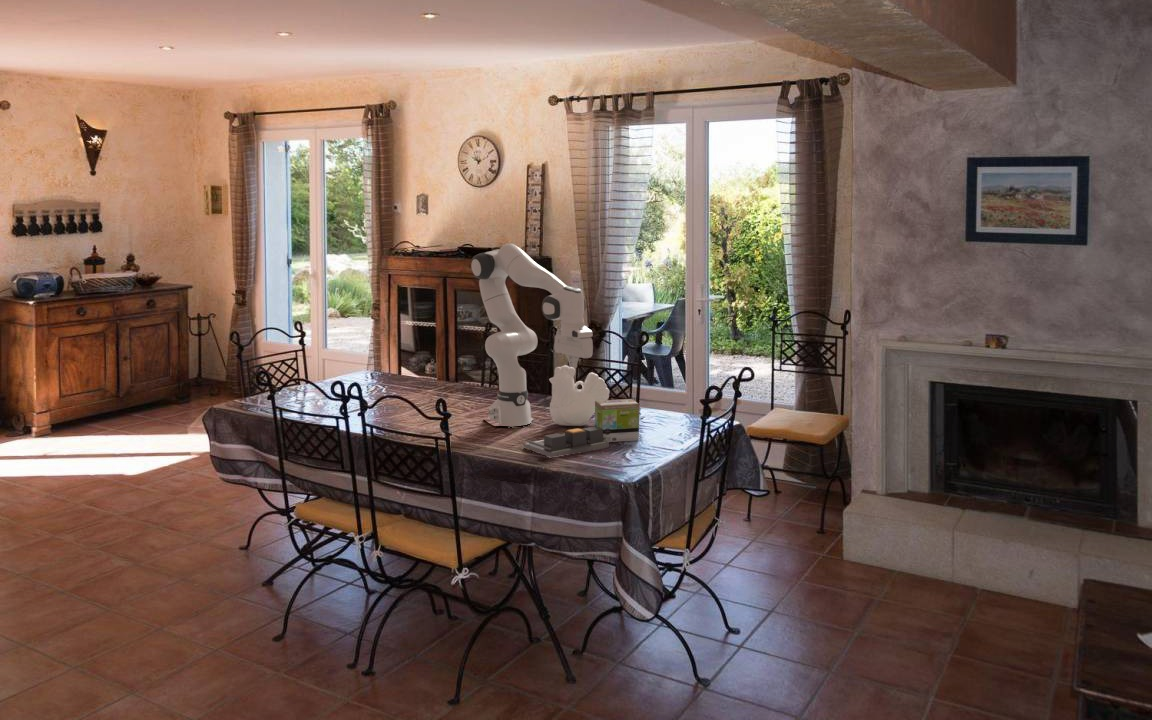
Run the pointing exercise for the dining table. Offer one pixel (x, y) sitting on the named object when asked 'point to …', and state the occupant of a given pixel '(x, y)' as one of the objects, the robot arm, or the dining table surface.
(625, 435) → the tea box
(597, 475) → the dining table surface
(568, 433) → the block
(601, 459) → the dining table surface
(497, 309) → the robot arm
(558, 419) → the decorative rooster
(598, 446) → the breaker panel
